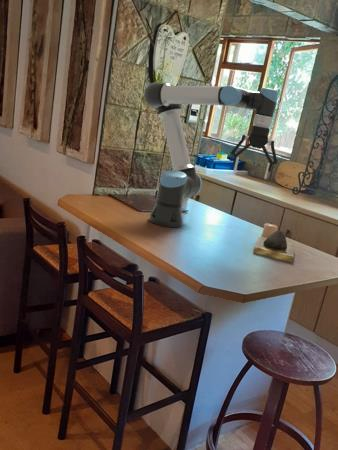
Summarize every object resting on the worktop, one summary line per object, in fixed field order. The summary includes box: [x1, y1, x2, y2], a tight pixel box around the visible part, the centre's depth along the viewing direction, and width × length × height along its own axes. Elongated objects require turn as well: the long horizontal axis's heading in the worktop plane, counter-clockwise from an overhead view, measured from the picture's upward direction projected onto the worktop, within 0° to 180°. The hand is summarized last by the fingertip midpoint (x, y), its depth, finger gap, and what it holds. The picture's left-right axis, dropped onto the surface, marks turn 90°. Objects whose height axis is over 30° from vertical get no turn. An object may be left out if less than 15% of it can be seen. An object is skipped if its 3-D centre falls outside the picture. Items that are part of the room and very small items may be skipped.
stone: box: [263, 230, 288, 250], centre depth 187 cm, size 10×8×10 cm
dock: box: [252, 235, 295, 263], centre depth 189 cm, size 16×18×3 cm
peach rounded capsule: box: [261, 222, 279, 238], centre depth 205 cm, size 6×6×7 cm
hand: (249, 175), depth 193 cm, fingers open, 13 cm apart
